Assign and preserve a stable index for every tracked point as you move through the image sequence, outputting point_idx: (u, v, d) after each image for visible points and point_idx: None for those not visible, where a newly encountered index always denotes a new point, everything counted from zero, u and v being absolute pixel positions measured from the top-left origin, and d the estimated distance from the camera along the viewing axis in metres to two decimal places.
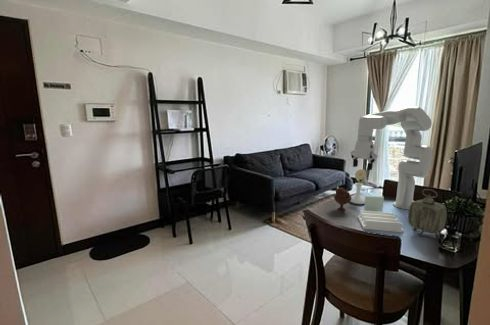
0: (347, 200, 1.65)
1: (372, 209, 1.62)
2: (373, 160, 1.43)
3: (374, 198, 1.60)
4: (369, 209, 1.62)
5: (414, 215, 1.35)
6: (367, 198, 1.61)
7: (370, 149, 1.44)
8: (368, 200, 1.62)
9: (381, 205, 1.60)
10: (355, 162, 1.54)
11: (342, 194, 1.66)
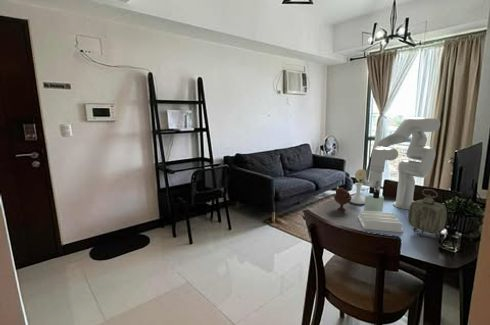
0: (347, 200, 1.65)
1: (372, 209, 1.62)
2: None
3: (374, 198, 1.60)
4: (369, 209, 1.62)
5: (414, 215, 1.35)
6: (367, 198, 1.61)
7: None
8: (368, 200, 1.62)
9: (381, 205, 1.60)
10: None
11: (342, 194, 1.66)
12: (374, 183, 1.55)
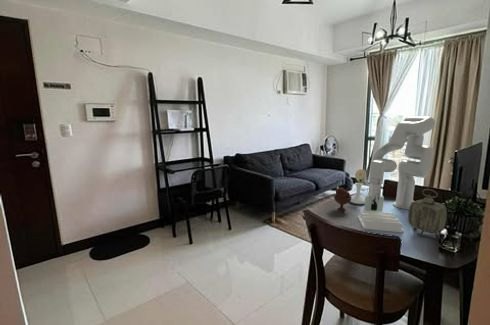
0: (347, 200, 1.65)
1: None
2: None
3: (374, 198, 1.60)
4: (369, 209, 1.62)
5: (414, 215, 1.35)
6: (367, 198, 1.61)
7: None
8: (368, 200, 1.62)
9: (381, 205, 1.60)
10: None
11: (342, 194, 1.66)
12: (373, 195, 1.57)
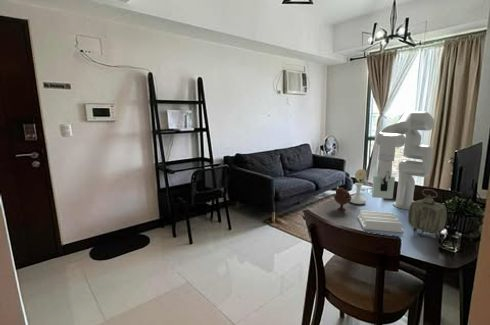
0: (347, 200, 1.65)
1: (381, 191, 1.44)
2: None
3: None
4: (378, 191, 1.45)
5: (414, 215, 1.35)
6: (376, 178, 1.44)
7: None
8: (377, 181, 1.44)
9: (392, 186, 1.43)
10: None
11: (342, 194, 1.66)
12: (383, 174, 1.39)
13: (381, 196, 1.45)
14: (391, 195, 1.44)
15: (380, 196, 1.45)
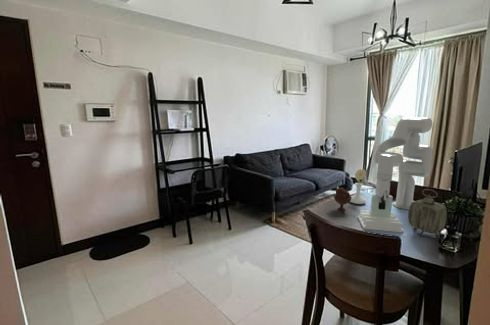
0: (347, 200, 1.65)
1: (380, 210, 1.47)
2: None
3: None
4: (376, 210, 1.47)
5: (414, 215, 1.35)
6: (374, 197, 1.46)
7: None
8: (375, 199, 1.46)
9: (390, 205, 1.45)
10: None
11: (342, 194, 1.66)
12: (381, 193, 1.41)
13: (379, 215, 1.47)
14: (389, 214, 1.46)
15: (378, 215, 1.47)
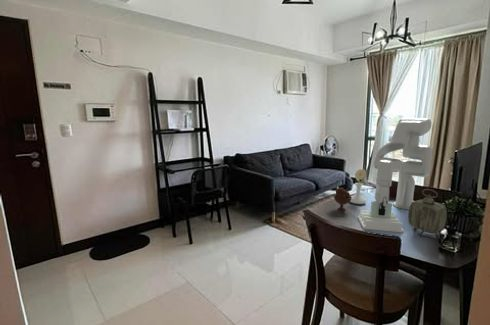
0: (347, 200, 1.65)
1: (379, 216, 1.47)
2: None
3: (381, 204, 1.46)
4: (376, 216, 1.48)
5: (414, 215, 1.35)
6: (373, 204, 1.47)
7: None
8: (374, 206, 1.47)
9: (389, 212, 1.46)
10: None
11: (342, 194, 1.66)
12: (381, 199, 1.42)
13: None
14: None
15: None
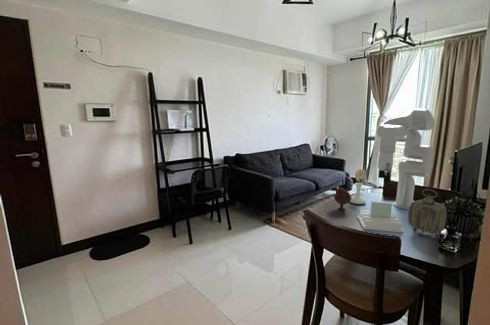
0: (347, 200, 1.65)
1: (379, 216, 1.47)
2: None
3: (381, 204, 1.46)
4: (376, 216, 1.48)
5: (414, 215, 1.35)
6: (373, 204, 1.47)
7: None
8: (374, 206, 1.47)
9: (389, 212, 1.46)
10: None
11: (342, 194, 1.66)
12: (384, 165, 1.39)
13: None
14: None
15: None
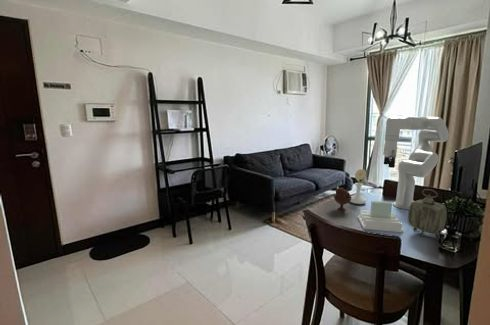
0: (347, 200, 1.65)
1: (379, 216, 1.47)
2: None
3: (381, 204, 1.46)
4: (376, 216, 1.48)
5: (414, 215, 1.35)
6: (373, 204, 1.47)
7: None
8: (374, 206, 1.47)
9: (389, 212, 1.46)
10: None
11: (342, 194, 1.66)
12: (389, 152, 1.56)
13: None
14: None
15: None
